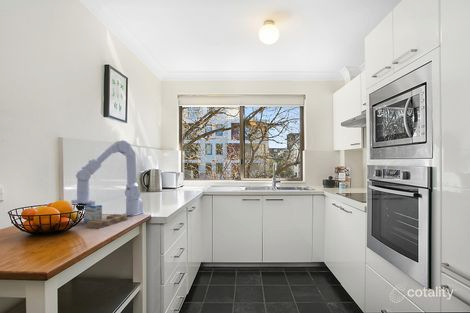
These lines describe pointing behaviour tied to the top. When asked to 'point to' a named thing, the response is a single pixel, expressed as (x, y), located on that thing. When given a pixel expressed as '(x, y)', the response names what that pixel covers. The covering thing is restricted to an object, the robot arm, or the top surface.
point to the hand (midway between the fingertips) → (83, 217)
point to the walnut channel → (106, 221)
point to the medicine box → (93, 212)
